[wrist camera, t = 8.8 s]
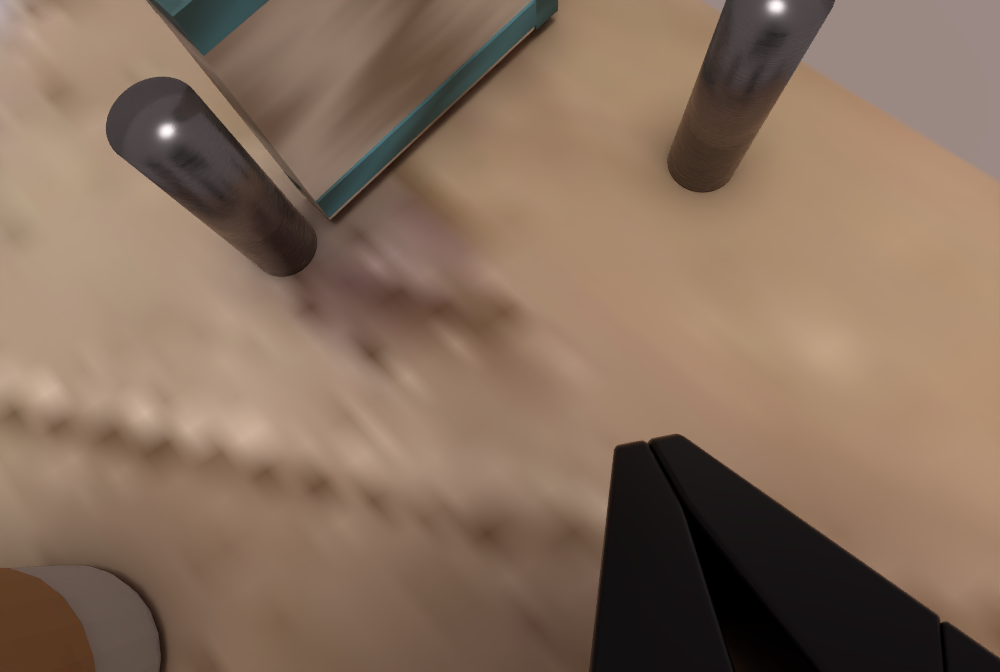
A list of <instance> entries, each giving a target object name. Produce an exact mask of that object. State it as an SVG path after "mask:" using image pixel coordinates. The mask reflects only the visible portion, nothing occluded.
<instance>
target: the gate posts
mask: <svg viewBox="0 0 1000 672" xmlns="http://www.w3.org/2000/svg"><path fill="white" fill-rule="evenodd" d="M834 2H835V0H726V2H725V5H724V8H723V10H722V13H721V15H720V18H719V21H718V24H717V26H716V29H715V32H714V34H713V37H712V40H711V42H710V45H709V48H708V50H707V53H706V56H705V58H704V61H703V64H702V66H701V69H700V72H699V74H698V77H697V80H696V82H695V85H694V88H693V90H692V93H691V96H690V99H689V101H688V104H687V107H686V109H685V112H684V115H683V117H682V120H681V123H680V125H679V128H678V131H677V133H676V136H675V139H674V141H673V144H672V147H671V149H670V152H669V156H668V167H669V170H670V173H671V175H672V176H673V178H674V179H675V180H676V181H677V182H678V183H679V184H680V185H682V186H683V187H685V188H687V189H689V190H692V191H697V192H709V191H713V190H716V189H718V188H720V187H722V186H723V185H725V184H726V183H727V182H728V181H729V179H730V178H731V177H732V175H733V173H734V172H735V170H736V168H737V167H738V165H739V163H740V162H741V160H742V158H743V156H744V155H745V153H746V151H747V150H748V148H749V146H750V145H751V143H752V141H753V140H754V138H755V136H756V135H757V133H758V131H759V130H760V128H761V126H762V125H763V123H764V121H765V120H766V118H767V116H768V115H769V113H770V111H771V110H772V108H773V106H774V105H775V103H776V101H777V100H778V98H779V96H780V95H781V93H782V91H783V90H784V88H785V86H786V85H787V83H788V81H789V80H790V78H791V76H792V75H793V73H794V71H795V70H796V68H797V66H798V64H799V63H800V61H801V59H802V58H803V56H804V54H805V53H806V51H807V49H808V48H809V46H810V44H811V43H812V41H813V39H814V38H815V36H816V34H817V33H818V31H819V29H820V28H821V26H822V24H823V23H824V21H825V19H826V18H827V16H828V14H829V13H830V11H831V9H832V7H833V5H834ZM106 134H107V138H108V141H109V143H110V145H111V147H112V148H113V150H114V151H115V152H116V153H117V154H118V155H120V156H121V157H122V158H123V159H125V160H126V161H127V162H128V163H130V164H131V165H132V166H133V167H135V168H136V169H137V170H138V171H140V172H141V173H142V174H143V175H145V176H146V177H147V178H148V179H150V180H151V181H152V182H153V183H155V184H156V185H157V186H158V187H160V188H161V189H162V190H163V191H165V192H166V193H167V194H168V195H170V196H171V197H172V198H173V199H175V200H176V201H177V202H178V203H180V204H181V205H182V206H183V207H185V208H186V209H187V210H188V211H190V212H191V213H192V214H193V215H195V216H196V217H197V218H198V219H200V220H201V221H202V222H203V223H205V224H206V225H207V226H208V227H210V228H211V229H212V230H213V231H215V232H216V233H217V234H218V235H220V236H221V237H222V238H223V239H225V240H226V241H227V242H228V243H230V244H231V245H232V246H233V247H235V248H236V249H237V250H238V251H240V252H241V253H242V254H243V255H245V256H246V257H247V258H248V259H250V260H251V261H252V262H253V263H255V264H256V265H257V266H258V267H260V268H261V269H262V270H263V271H265V272H267V273H268V274H271V275H275V276H288V275H292V274H295V273H297V272H299V271H300V270H302V269H303V268H304V267H306V266H307V265H308V263H309V262H310V261H311V259H312V258H313V256H314V253H315V251H316V245H317V240H316V235H315V232H314V230H313V228H312V227H311V225H310V224H309V223H308V222H307V221H306V220H305V218H304V217H303V216H302V215H301V214H300V213H299V211H298V210H297V209H296V208H295V207H294V206H293V205H292V203H291V202H290V201H289V200H288V199H287V198H286V196H285V195H284V194H283V193H282V192H281V191H280V190H279V188H278V187H277V186H276V185H275V184H274V183H273V181H272V180H271V179H270V178H269V177H268V176H267V174H266V173H265V172H264V171H263V170H262V169H261V168H260V166H259V165H258V164H257V163H256V162H255V161H254V159H253V158H252V157H251V156H250V155H249V154H248V153H247V151H246V150H245V149H244V148H243V147H242V146H241V144H240V143H239V142H238V141H237V140H236V139H235V137H234V136H233V135H232V134H231V133H230V132H229V131H228V129H227V128H226V127H225V126H224V125H223V124H222V122H221V121H220V120H219V119H218V118H217V117H216V116H215V114H214V113H213V112H212V111H211V110H210V109H209V107H208V106H207V105H206V104H205V103H204V102H203V100H202V99H201V98H200V97H199V96H198V95H197V94H196V92H195V91H194V90H193V89H192V88H191V87H190V86H189V85H187V84H186V83H184V82H183V81H181V80H178V79H175V78H171V77H154V78H149V79H145V80H143V81H140V82H138V83H136V84H134V85H133V86H131V87H129V88H128V89H127V90H126V91H124V92H123V93H122V94H121V95H120V96H119V97H118V99H117V100H116V101H115V102H114V104H113V106H112V107H111V109H110V112H109V114H108V117H107V122H106Z"/></svg>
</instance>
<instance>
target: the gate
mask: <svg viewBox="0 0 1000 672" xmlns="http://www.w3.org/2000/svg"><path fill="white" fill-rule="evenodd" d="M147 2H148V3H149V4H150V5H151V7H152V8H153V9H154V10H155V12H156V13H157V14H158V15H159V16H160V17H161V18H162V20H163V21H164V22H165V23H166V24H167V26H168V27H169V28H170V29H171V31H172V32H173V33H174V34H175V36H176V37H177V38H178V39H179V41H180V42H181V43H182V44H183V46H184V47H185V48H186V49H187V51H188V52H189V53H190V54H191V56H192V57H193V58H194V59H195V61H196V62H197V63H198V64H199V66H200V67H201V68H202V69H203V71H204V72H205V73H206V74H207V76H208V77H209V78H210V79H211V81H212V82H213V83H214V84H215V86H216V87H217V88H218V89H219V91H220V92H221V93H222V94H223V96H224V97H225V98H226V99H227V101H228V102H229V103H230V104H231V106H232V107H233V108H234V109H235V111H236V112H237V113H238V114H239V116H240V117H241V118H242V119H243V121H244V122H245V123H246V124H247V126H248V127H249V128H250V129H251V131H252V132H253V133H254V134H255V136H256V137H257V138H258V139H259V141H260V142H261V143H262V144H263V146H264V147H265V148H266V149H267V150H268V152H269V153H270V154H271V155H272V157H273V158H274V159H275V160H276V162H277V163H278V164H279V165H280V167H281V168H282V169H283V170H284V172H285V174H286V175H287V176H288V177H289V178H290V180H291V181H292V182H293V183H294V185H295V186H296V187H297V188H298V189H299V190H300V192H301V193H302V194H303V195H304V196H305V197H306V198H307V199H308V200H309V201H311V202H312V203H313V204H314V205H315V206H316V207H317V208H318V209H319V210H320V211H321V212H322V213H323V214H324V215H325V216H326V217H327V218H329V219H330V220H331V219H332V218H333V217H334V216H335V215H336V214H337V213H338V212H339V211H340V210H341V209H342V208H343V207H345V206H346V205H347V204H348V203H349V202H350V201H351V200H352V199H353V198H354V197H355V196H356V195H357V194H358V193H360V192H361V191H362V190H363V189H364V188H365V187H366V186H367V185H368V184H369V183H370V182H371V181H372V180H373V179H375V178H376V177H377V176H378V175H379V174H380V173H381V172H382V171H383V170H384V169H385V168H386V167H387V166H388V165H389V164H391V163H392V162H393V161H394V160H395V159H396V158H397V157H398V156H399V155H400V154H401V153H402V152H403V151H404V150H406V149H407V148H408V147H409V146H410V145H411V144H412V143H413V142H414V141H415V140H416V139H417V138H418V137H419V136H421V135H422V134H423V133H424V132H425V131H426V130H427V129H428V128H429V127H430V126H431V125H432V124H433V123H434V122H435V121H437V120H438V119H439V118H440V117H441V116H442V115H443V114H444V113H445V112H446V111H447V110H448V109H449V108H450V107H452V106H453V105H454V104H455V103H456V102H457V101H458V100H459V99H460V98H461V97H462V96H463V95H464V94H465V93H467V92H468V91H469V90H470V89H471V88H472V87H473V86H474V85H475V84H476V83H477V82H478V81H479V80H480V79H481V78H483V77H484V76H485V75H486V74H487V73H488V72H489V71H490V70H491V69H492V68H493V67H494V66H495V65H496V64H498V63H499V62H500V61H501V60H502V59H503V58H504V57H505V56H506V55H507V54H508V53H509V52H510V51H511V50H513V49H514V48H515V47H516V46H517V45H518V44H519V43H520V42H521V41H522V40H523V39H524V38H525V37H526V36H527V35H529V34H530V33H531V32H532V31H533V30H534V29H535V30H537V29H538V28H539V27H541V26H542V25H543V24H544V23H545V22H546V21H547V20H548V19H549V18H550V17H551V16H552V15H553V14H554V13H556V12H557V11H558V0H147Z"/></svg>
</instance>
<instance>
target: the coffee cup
mask: <svg viewBox="0 0 1000 672" xmlns="http://www.w3.org/2000/svg"><path fill="white" fill-rule="evenodd" d="M160 662H161V652H160V643H159V633H158V630H157V628H156V625H155V622H154V619H153V617H152V614H151V611H150V610H149V608H148V607H147V606H146V604H145V603H144V602H143V600H142V599H141V597H140V596H139V595H138V593H137V592H135V591H134V590H133V589H131V587H129V586H128V585H126V584H125V583H124V582H122V581H121V580H120V579H118V578H117V577H116V576H114V575H113V574H111V573H109V572H106V571H103V570H100V569H97V568H94V567H91V566H83V565H58V566H41V567H25V568H0V672H159V670H160Z"/></svg>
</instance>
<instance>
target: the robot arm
mask: <svg viewBox="0 0 1000 672" xmlns="http://www.w3.org/2000/svg"><path fill="white" fill-rule="evenodd" d="M589 672H1000V658H999V657H998V656H996V655H995V654H993V653H992V652H990V651H989V650H987V649H986V648H985V647H983V646H982V645H980V644H979V643H977V642H976V641H975V640H973V639H972V638H970V637H969V636H968V635H966V634H965V633H963V632H962V631H960V630H959V629H958V628H956V627H955V626H953V625H952V624H950V623H949V622H946V621H945V622H942V623H941V624H940V618H939V616H938V615H937V614H936V613H934V612H933V611H931V610H930V609H929V608H927V607H926V606H924V605H923V604H921V603H920V602H919V601H917V600H916V599H914V598H913V597H912V596H910V595H909V594H907V593H906V592H904V591H903V590H902V589H900V588H899V587H897V586H896V585H894V584H893V583H892V582H890V581H889V580H887V579H886V578H884V577H883V576H882V575H880V574H879V573H877V572H876V571H875V570H873V569H872V568H870V567H869V566H867V565H866V564H865V563H863V562H862V561H860V560H859V559H857V558H856V557H855V556H853V555H852V554H850V553H849V552H848V551H846V550H845V549H843V548H842V547H840V546H839V545H838V544H836V543H835V542H833V541H832V540H830V539H829V538H828V537H826V536H825V535H823V534H822V533H820V532H819V531H818V530H816V529H815V528H813V527H812V526H811V525H809V524H808V523H806V522H805V521H803V520H802V519H801V518H799V517H798V516H796V515H795V514H793V513H792V512H791V511H789V510H788V509H786V508H785V507H784V506H782V505H781V504H779V503H778V502H776V501H775V500H774V499H772V498H771V497H769V496H768V495H766V494H765V493H764V492H762V491H761V490H759V489H758V488H756V487H755V486H754V485H752V484H751V483H749V482H748V481H747V480H745V479H744V478H742V477H741V476H739V475H738V474H737V473H735V472H734V471H732V470H731V469H729V468H728V467H727V466H725V465H724V464H722V463H721V462H720V461H718V460H717V459H715V458H714V457H712V456H711V455H710V454H708V453H707V452H705V451H704V450H702V449H701V448H700V447H698V446H697V445H695V444H694V443H692V442H691V441H690V440H688V439H687V438H685V437H684V436H682V435H679V434H672V435H667V436H662V437H657V438H652V439H651V440H650V441H649V442H648V443H647V442H645V441H636V442H631V443H626V444H621V445H617V446H616V447H615V449H614V455H613V464H612V473H611V482H610V491H609V499H608V508H607V517H606V526H605V535H604V544H603V552H602V561H601V570H600V579H599V588H598V597H597V606H596V614H595V623H594V632H593V641H592V650H591V659H590V667H589Z"/></svg>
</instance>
